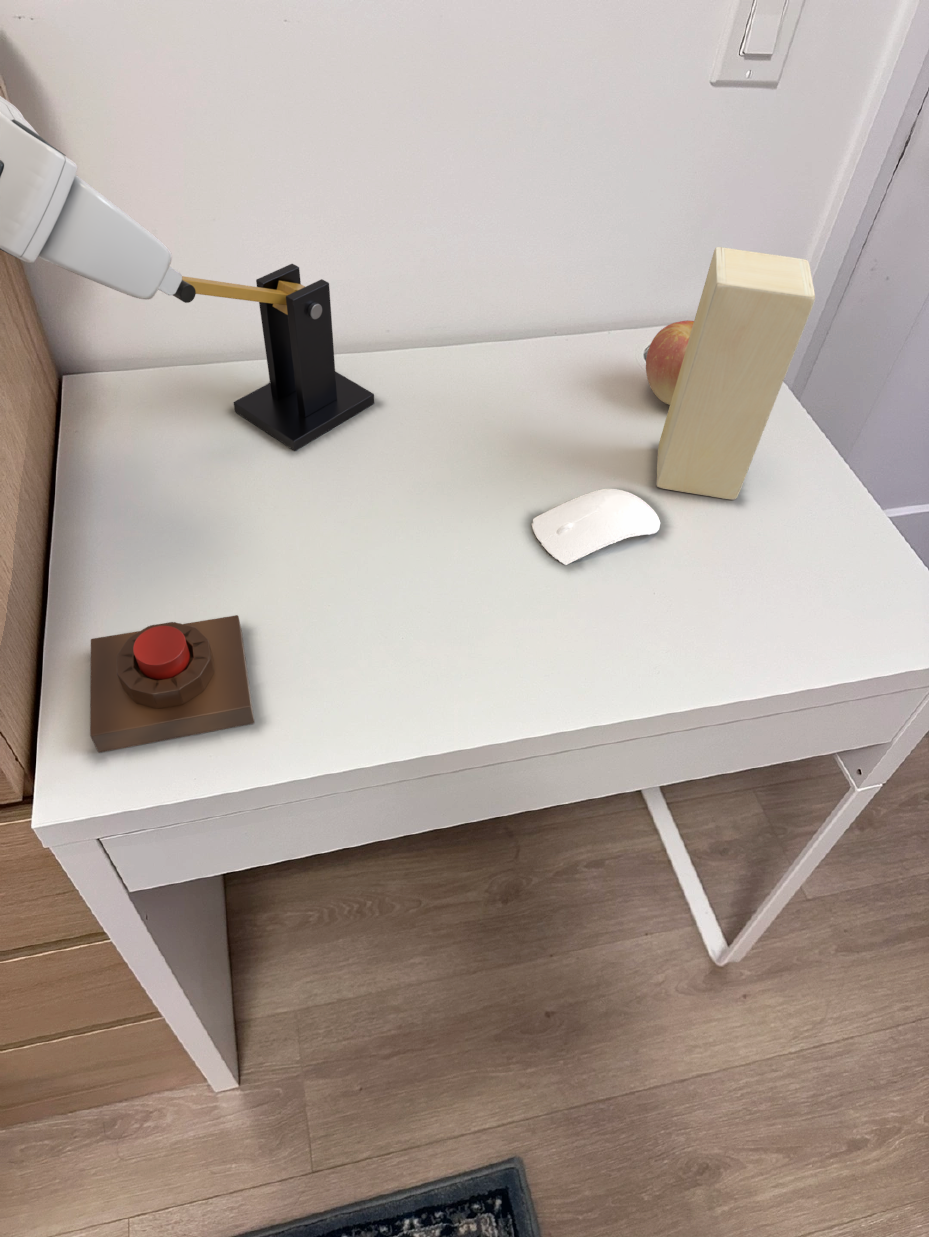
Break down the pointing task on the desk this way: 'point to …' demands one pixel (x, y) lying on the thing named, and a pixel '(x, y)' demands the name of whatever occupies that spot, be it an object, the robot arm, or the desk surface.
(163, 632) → the release button
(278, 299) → the bolt lever
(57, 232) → the robot arm
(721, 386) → the tall wooden block
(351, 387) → the bolt bracket
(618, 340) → the desk surface
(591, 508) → the computer mouse
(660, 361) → the apple
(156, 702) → the release housing
